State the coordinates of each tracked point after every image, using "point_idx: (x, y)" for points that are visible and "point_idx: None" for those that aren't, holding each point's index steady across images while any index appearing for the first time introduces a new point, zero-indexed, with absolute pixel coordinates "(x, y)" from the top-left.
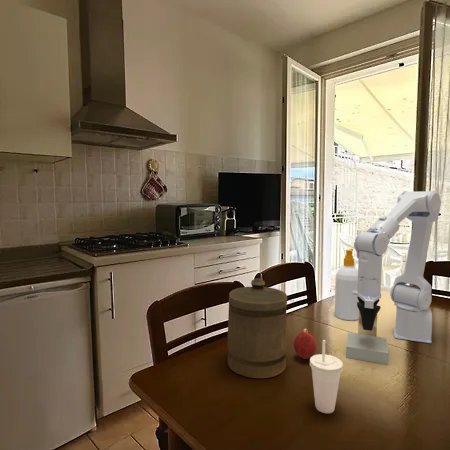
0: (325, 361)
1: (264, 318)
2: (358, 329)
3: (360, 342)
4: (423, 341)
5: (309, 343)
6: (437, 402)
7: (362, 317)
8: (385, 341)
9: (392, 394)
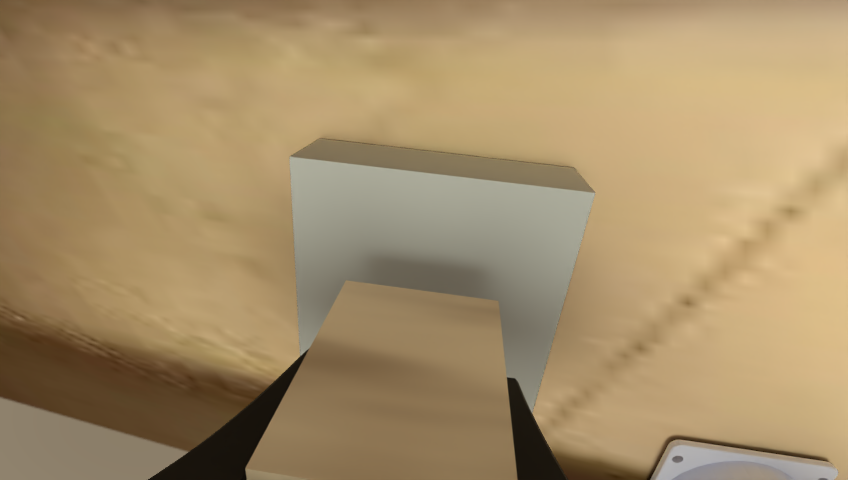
0: None
1: None
2: (334, 306)
3: (402, 262)
4: None
5: None
6: (112, 415)
7: (206, 447)
8: None
9: (66, 300)
